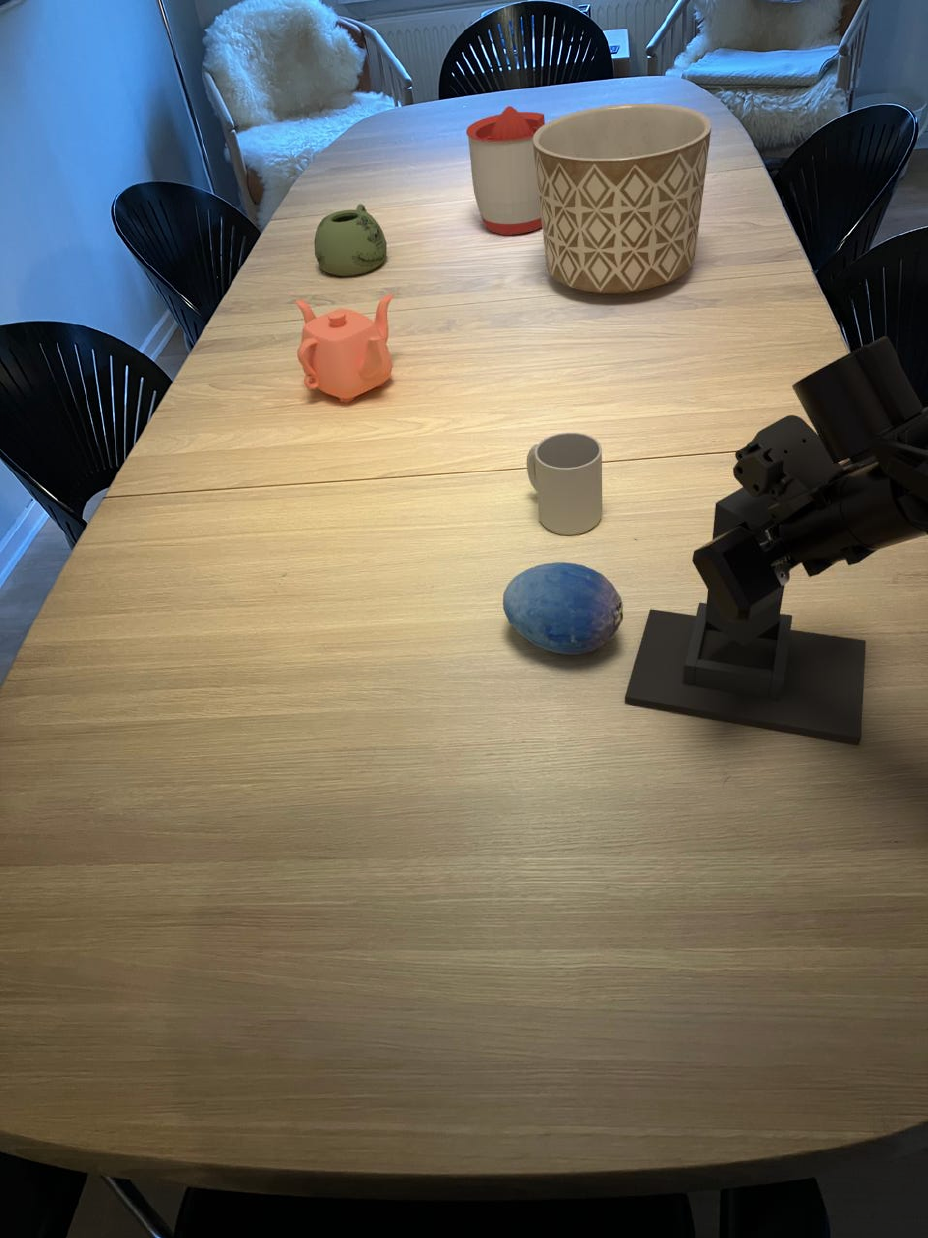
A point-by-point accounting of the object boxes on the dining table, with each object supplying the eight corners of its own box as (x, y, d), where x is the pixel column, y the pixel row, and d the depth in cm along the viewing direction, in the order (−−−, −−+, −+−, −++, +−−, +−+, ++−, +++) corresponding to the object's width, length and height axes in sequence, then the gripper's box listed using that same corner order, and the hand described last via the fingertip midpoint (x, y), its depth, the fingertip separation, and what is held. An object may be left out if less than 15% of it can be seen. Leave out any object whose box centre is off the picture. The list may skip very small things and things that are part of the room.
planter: (645, 230, 163) (648, 92, 148) (734, 280, 145) (749, 128, 130) (513, 269, 157) (503, 129, 142) (589, 326, 139) (587, 173, 124)
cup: (572, 544, 102) (569, 477, 96) (509, 509, 108) (503, 444, 102) (615, 514, 105) (615, 447, 99) (552, 482, 111) (549, 417, 105)
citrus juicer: (580, 227, 168) (578, 105, 154) (489, 247, 165) (479, 126, 152) (550, 200, 179) (546, 85, 165) (465, 219, 177) (453, 103, 163)
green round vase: (376, 280, 160) (367, 229, 154) (307, 280, 164) (296, 230, 158) (403, 243, 171) (396, 194, 165) (338, 243, 175) (329, 196, 169)
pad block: (778, 622, 82) (798, 503, 73) (743, 646, 80) (759, 527, 71) (739, 597, 85) (754, 479, 76) (704, 620, 83) (715, 502, 74)
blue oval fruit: (646, 595, 80) (490, 564, 86) (634, 686, 83) (484, 650, 89) (672, 570, 87) (527, 543, 93) (661, 654, 90) (521, 623, 96)
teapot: (311, 364, 140) (295, 294, 132) (404, 358, 138) (393, 287, 131) (293, 414, 129) (273, 341, 122) (393, 408, 128) (380, 334, 120)
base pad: (864, 647, 86) (871, 620, 84) (858, 745, 78) (866, 718, 76) (649, 616, 92) (650, 589, 90) (624, 703, 84) (625, 677, 82)
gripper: (903, 358, 67) (767, 432, 82) (722, 460, 61) (609, 520, 75) (975, 492, 68) (827, 542, 82) (802, 608, 61) (674, 640, 75)
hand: (736, 557), depth 79 cm, fingers closed on pad block, 4 cm apart
